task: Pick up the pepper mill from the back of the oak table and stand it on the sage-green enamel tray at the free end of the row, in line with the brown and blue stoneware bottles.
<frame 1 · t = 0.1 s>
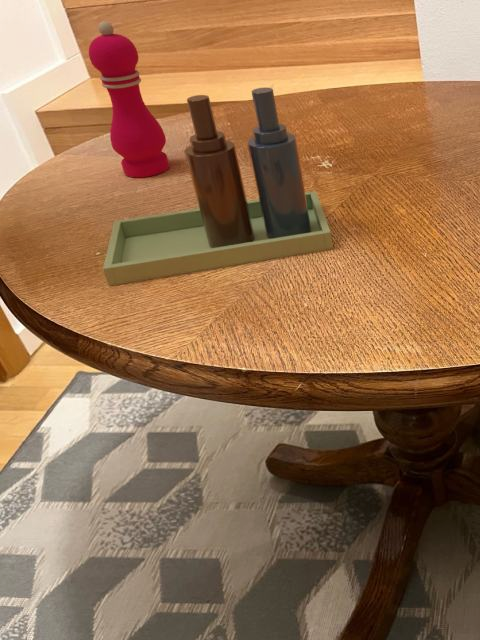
pepper mill: (147, 171, 106), on the table
tray: (224, 246, 84), on the table
brown bottle: (231, 240, 84), resting on tray
blue bottle: (288, 231, 85), resting on tray
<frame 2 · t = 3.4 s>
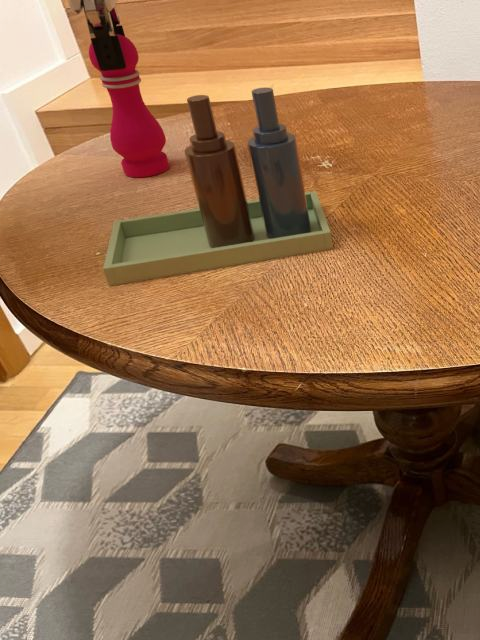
hand: (115, 62, 97), 15 cm above the table, tool pointing down, fingers closed on pepper mill, 6 cm apart
pepper mill: (147, 171, 106), on the table, touching gripper
everything else where it was.
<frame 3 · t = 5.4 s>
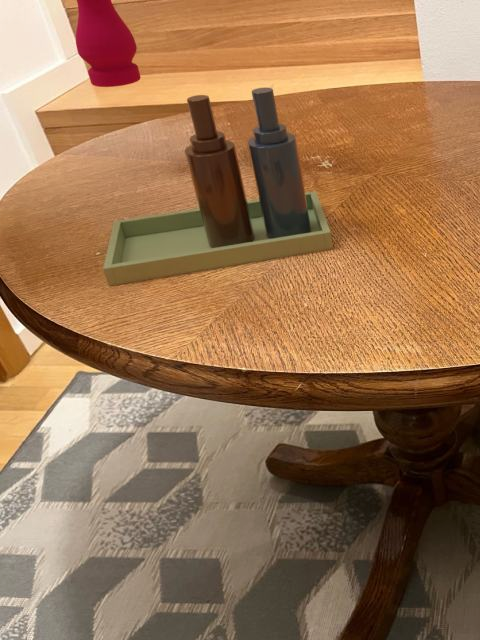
pepper mill: (116, 82, 99), point 12 cm above the table, touching gripper
everything else where it was.
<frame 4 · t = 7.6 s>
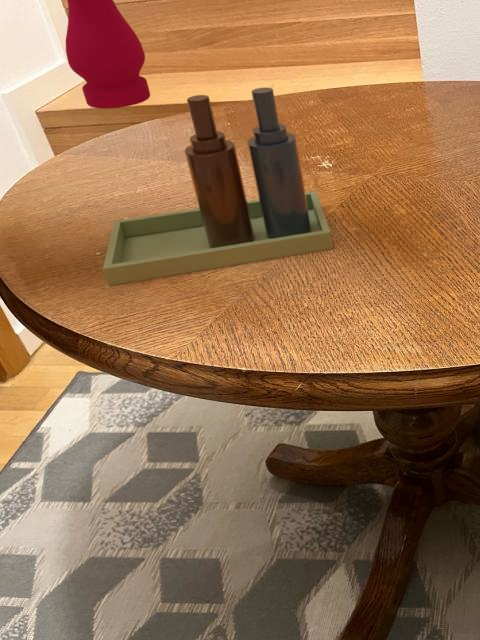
pepper mill: (120, 102, 76), point 16 cm above the table, touching gripper
everything else where it was.
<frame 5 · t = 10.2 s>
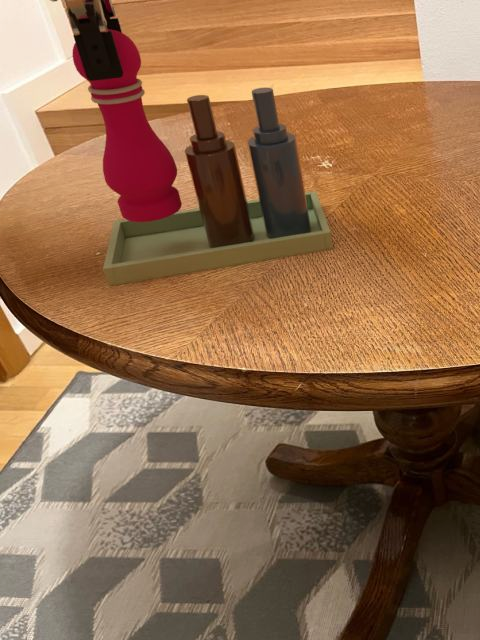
hand: (109, 68, 71), 20 cm above the table, tool pointing down, fingers closed on pepper mill, 6 cm apart
pepper mill: (152, 212, 80), point 5 cm above the table, touching gripper
everything else where it was.
when the fingers open (15 cm above the table, at t = 11.9 s): pepper mill stays where it is, resting on tray.
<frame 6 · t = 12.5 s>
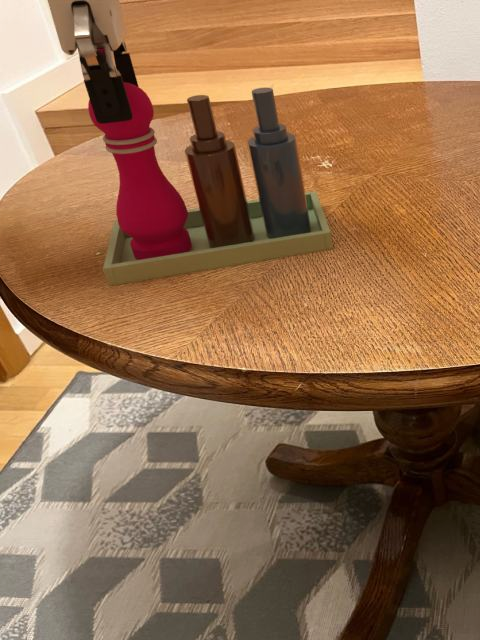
hand: (120, 107, 73), 17 cm above the table, tool pointing down, fingers open, 9 cm apart
pepper mill: (164, 252, 83), resting on tray
everything else where it was.
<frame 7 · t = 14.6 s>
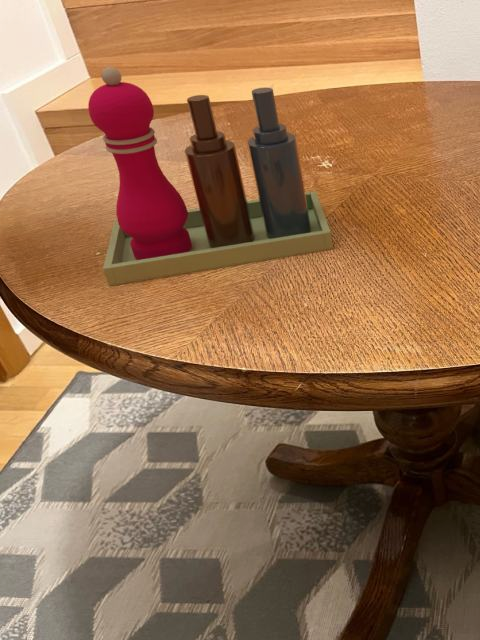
nothing on the table moved.
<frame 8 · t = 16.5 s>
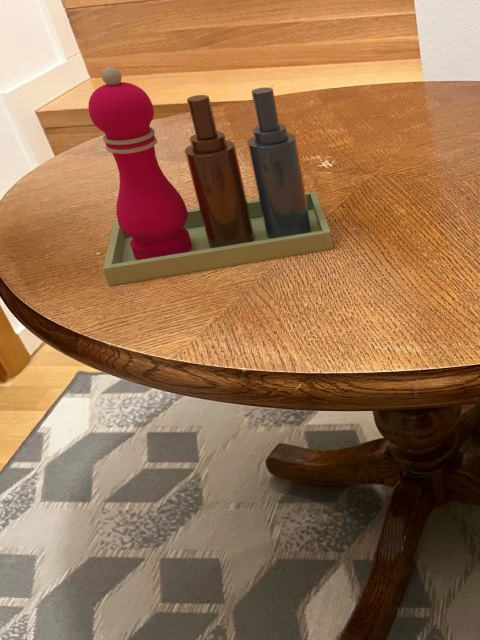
nothing on the table moved.
at the end: pepper mill 0.0 cm from the target spot in the tray, point 0.3 cm above the tray's base; pepper mill tilted 0°; brown bottle moved 0.0 cm from its start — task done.
